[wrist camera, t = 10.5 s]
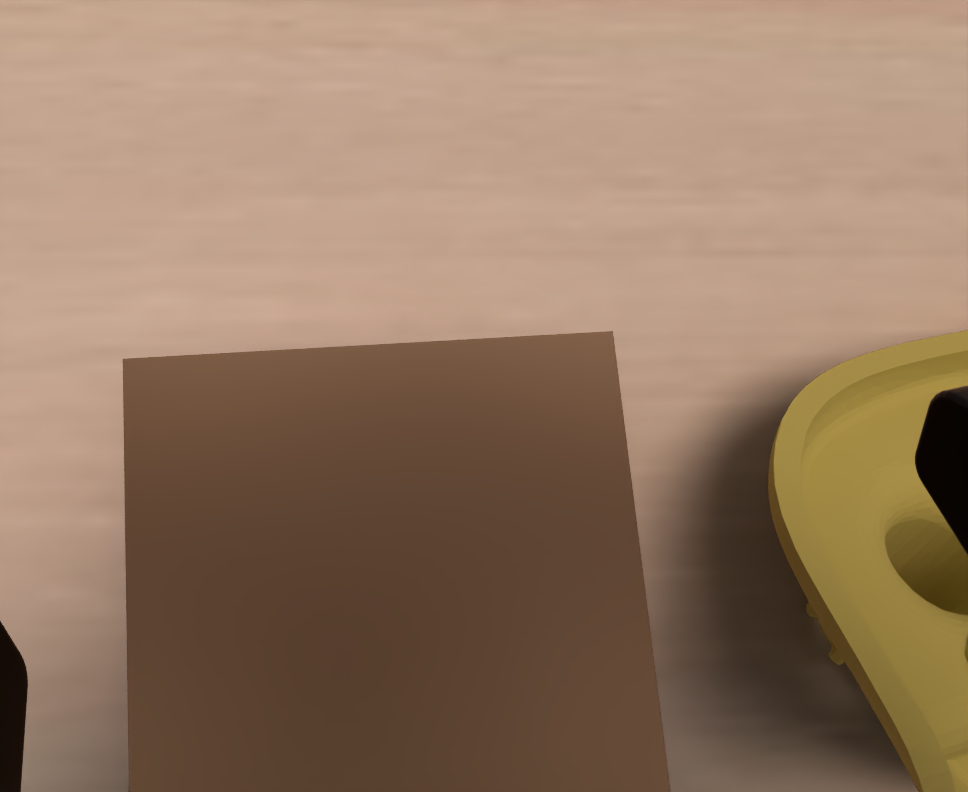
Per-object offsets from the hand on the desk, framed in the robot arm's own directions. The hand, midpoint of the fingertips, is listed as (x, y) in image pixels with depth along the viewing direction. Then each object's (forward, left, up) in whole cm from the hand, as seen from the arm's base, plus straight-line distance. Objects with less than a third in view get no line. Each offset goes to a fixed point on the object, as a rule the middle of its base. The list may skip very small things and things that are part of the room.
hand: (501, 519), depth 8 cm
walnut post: (-1, 0, -13) cm, 13 cm away
